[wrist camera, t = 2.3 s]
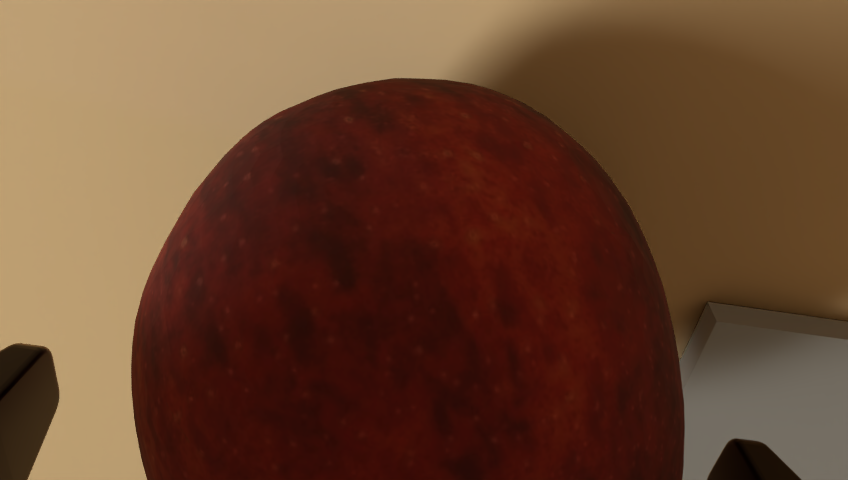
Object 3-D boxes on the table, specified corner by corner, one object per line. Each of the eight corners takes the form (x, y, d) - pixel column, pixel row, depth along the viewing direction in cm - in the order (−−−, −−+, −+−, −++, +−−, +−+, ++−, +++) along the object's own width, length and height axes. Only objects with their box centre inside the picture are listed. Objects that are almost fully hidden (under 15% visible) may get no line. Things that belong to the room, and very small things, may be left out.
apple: (298, 387, 16) (184, 827, 9) (146, 61, 12) (-247, 438, 5) (633, 339, 15) (773, 805, 8) (594, -43, 11) (815, 276, 4)
